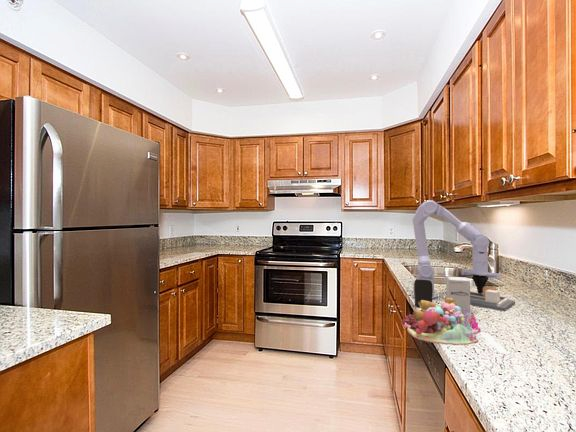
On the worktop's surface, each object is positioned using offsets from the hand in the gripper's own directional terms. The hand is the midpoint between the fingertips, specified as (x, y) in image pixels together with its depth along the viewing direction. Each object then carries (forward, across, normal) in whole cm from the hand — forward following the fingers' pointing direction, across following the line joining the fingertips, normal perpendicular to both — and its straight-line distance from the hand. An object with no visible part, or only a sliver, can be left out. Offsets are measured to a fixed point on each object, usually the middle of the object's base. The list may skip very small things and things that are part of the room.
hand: (480, 293), depth 135 cm
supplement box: (+3, +1, +22) cm, 22 cm away
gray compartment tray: (+3, -2, +3) cm, 5 cm away
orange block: (+2, -4, 0) cm, 4 cm away
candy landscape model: (+4, -3, +48) cm, 48 cm away
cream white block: (+2, -6, +7) cm, 9 cm away
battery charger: (+3, +13, +27) cm, 30 cm away
